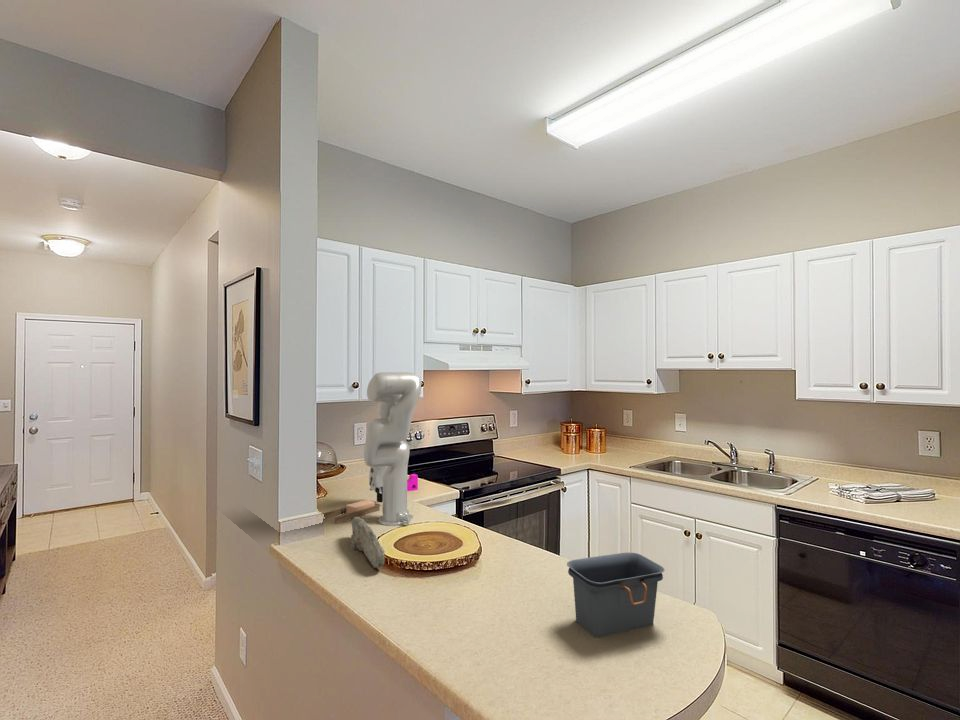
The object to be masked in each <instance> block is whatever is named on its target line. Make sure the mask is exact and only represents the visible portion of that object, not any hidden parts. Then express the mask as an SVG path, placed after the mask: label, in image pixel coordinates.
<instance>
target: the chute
mask: <svg viewBox="0 0 960 720" xmlns="http://www.w3.org/2000/svg"><path fill="white" fill-rule="evenodd" d="M379 511H380V504H375V506H372V507H369V508H366V509H362V510H359V511H356V512H352V513H349V514H347V513H346V506H343V507H341V508H340V507H339V508H337V509H333V510H330V511H326V512H323V514H324V517H325V519H324V520H327V519H330V518H333V517H335V518H334V523H335V525H337V524H341V523H344V522H346V521H347V520H348V521H350V519H351V520H353V518H354V517H360V518H361V517H363V516H366V514H367V515H369V514H372V513H373V514H374V513H376V512H379ZM343 513H344V514H343ZM340 514H341V515H340Z"/></svg>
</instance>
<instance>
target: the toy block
mask: <svg viewBox="0 0 960 720" xmlns="http://www.w3.org/2000/svg"><path fill="white" fill-rule="evenodd" d="M417 490H419V477H418V474H416V473H412V474H409V477H408V478H407V492H412V491H417Z"/></svg>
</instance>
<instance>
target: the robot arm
mask: <svg viewBox="0 0 960 720" xmlns="http://www.w3.org/2000/svg"><path fill="white" fill-rule="evenodd" d="M421 393H422V380H421V378H420V376H419V375H418V374H416V373H414V372H409V371H407V372H406V371H396V372H395V371H394V372H393V371H390V372H389V371H387V372H386V371H385V372H384V371H383V372H376V373H375V374H374V375H373V376H372V377H371V379H370V380H369V382H368V384H367V389H366V396H367V400H368V401H369V402H375V403H377V402H378V403H379V402H380V406H379V413H378V414H379V418H375V419H372V420H370V421H369V422H368V425H367V429H366V434H365V443H364V450H363V461H364V463H365V465H366V466H368V467H369V476H368V477H369V478H368V484H369V486H370V487H369V489H370V490H369V491H374V492H375V493H376V502H377V503H382V515H381V516H380V517H379V518H378V523H379V524H380V525H383V526H387V527H388V526H390V527H397V526H402V525H407V524H409V523H410V522H412V519H413V518H414V514H411V513H410V510H409V509H408V491H407V480H408V465H409V458H410V452H411V451H410V446H409V444H408V442H407V440H408V438H409V435H410V430H411V426H412V420H413V416H414V412H415V411H414V410H415V408H416V407H417V404H418V401H419V400H420V396H421Z"/></svg>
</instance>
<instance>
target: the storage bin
mask: <svg viewBox="0 0 960 720" xmlns="http://www.w3.org/2000/svg"><path fill="white" fill-rule="evenodd" d="M566 566H567V567H568V569H567V571H568V575H569V576H570V577H572V579H573V580H572V581H573V593H574V596H573V597H574V608H575V622H577V624H579V625H580V626H581V627H582V628H583V629H584V630H585V631H586V632H588V633H589V634H590V635H591V636H592V637H593V638H597V639H599V638H604V637H607V636H612V635H615V634H618V633H623V632H628V631H631V630H635V629H640V628H643V627H648V626H652V625H654V619H655V611H656V602H657V601H656V600H657V593H658V583H659V582H660V581H662V580H664V575H663V573H664V572H665V568H664V566H662V565H661V564H659V563H657V562H655V561H653V560H652V559H649V558H648V557H646V556H644V555H643V554H640V553H636V552H620V553H612V554H611V553H610V554H605V555H599V556H592V557H591V556H590V557H583V558H578V559H571V560H569V561H567V562H566Z"/></svg>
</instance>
